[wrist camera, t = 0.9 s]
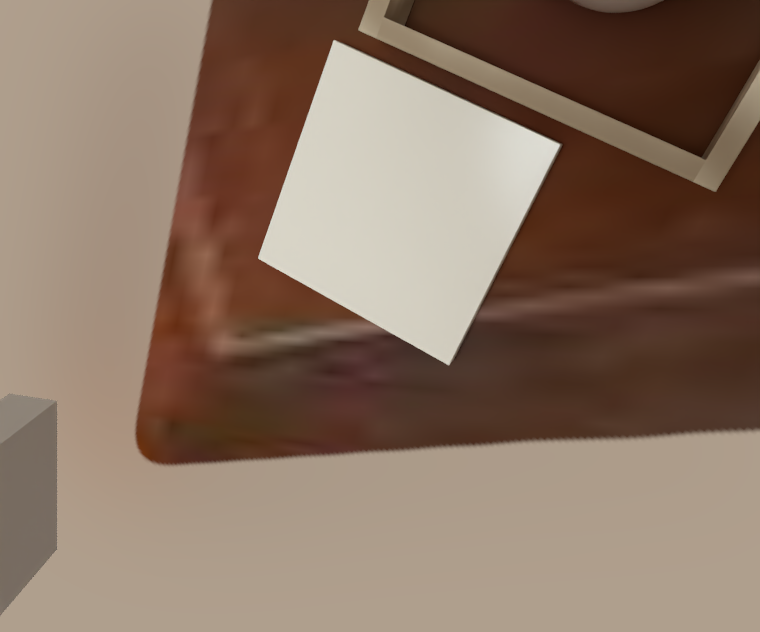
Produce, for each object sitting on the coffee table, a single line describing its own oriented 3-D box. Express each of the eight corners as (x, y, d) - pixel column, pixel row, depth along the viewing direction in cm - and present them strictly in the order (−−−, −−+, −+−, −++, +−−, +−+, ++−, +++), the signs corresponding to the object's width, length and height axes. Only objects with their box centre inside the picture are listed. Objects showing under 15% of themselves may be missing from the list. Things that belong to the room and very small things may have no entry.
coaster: (341, 42, 36) (334, 39, 35) (562, 144, 33) (560, 144, 32) (266, 255, 41) (257, 258, 40) (453, 359, 38) (448, 365, 37)
